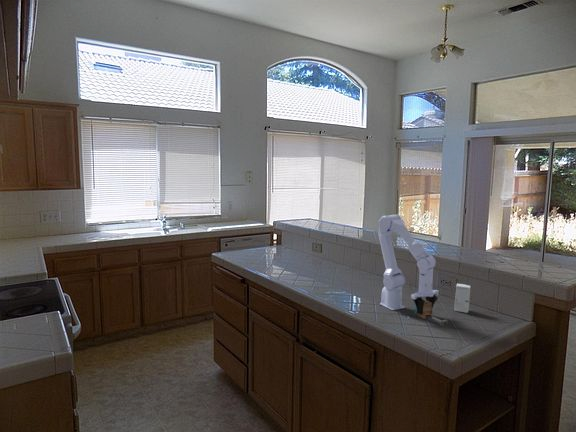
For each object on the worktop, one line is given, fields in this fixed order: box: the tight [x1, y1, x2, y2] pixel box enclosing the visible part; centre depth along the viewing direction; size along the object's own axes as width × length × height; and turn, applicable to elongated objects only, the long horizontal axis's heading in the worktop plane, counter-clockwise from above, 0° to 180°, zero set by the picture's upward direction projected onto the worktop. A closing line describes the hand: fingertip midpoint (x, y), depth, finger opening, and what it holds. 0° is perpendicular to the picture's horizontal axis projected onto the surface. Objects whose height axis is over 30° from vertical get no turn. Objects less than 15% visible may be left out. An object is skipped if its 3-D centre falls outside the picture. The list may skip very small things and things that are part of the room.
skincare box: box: [453, 283, 472, 314], centre depth 179 cm, size 6×4×12 cm
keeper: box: [416, 300, 433, 319], centre depth 172 cm, size 4×5×6 cm
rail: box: [413, 304, 448, 327], centre depth 169 cm, size 16×3×4 cm, turn 26°
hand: (424, 312), depth 172 cm, fingers closed on keeper, 5 cm apart
